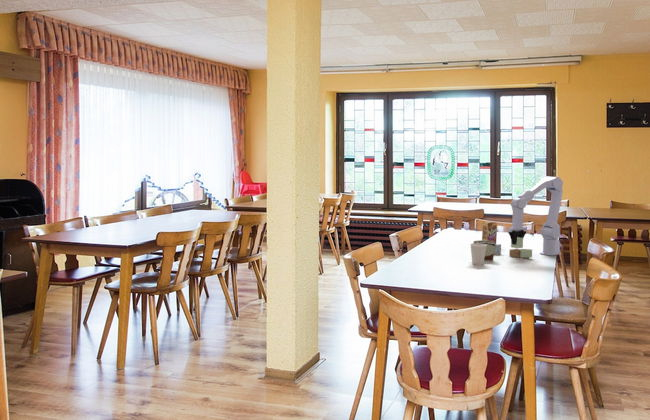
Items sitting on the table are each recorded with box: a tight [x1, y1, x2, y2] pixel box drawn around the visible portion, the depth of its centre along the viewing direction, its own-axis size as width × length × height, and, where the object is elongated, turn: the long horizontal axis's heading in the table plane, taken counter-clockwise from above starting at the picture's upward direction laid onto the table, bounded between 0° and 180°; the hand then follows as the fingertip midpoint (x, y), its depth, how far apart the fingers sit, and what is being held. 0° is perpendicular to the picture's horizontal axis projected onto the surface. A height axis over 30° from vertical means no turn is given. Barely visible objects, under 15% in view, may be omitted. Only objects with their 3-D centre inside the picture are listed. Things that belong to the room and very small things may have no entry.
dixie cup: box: [469, 243, 487, 265], centre depth 327 cm, size 8×8×10 cm
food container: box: [472, 239, 497, 262], centre depth 340 cm, size 12×6×10 cm, turn 65°
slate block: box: [494, 243, 502, 256], centre depth 360 cm, size 4×4×6 cm
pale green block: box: [520, 248, 533, 260], centre depth 345 cm, size 3×6×5 cm, turn 72°
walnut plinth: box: [509, 248, 522, 259], centre depth 351 cm, size 6×6×4 cm
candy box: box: [481, 221, 498, 243], centre depth 386 cm, size 9×4×15 cm, turn 123°
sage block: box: [510, 237, 524, 249], centre depth 351 cm, size 4×4×6 cm
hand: (516, 244), depth 351 cm, fingers closed on sage block, 4 cm apart
